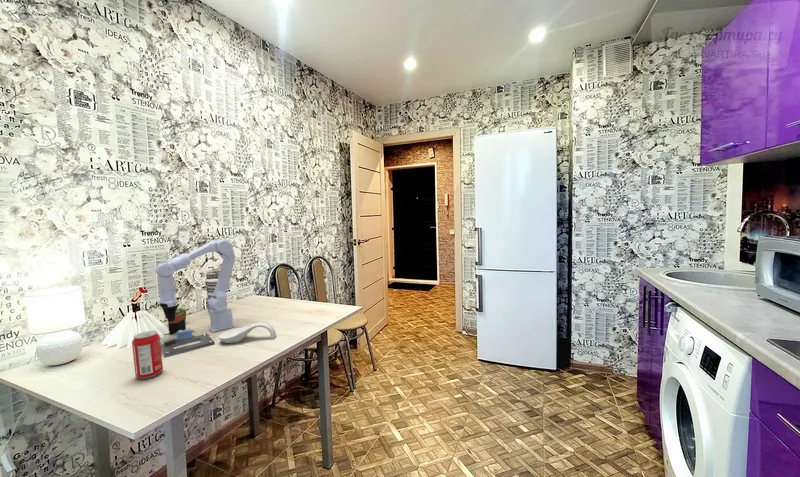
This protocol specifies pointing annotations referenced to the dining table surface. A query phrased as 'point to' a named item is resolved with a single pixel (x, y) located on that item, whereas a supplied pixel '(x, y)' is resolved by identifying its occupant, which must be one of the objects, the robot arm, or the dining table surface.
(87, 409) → the dining table surface
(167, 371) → the dining table surface
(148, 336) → the soda can
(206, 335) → the plate
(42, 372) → the dining table surface
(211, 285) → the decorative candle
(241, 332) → the spoon rest
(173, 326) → the battery
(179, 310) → the bell pepper
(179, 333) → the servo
